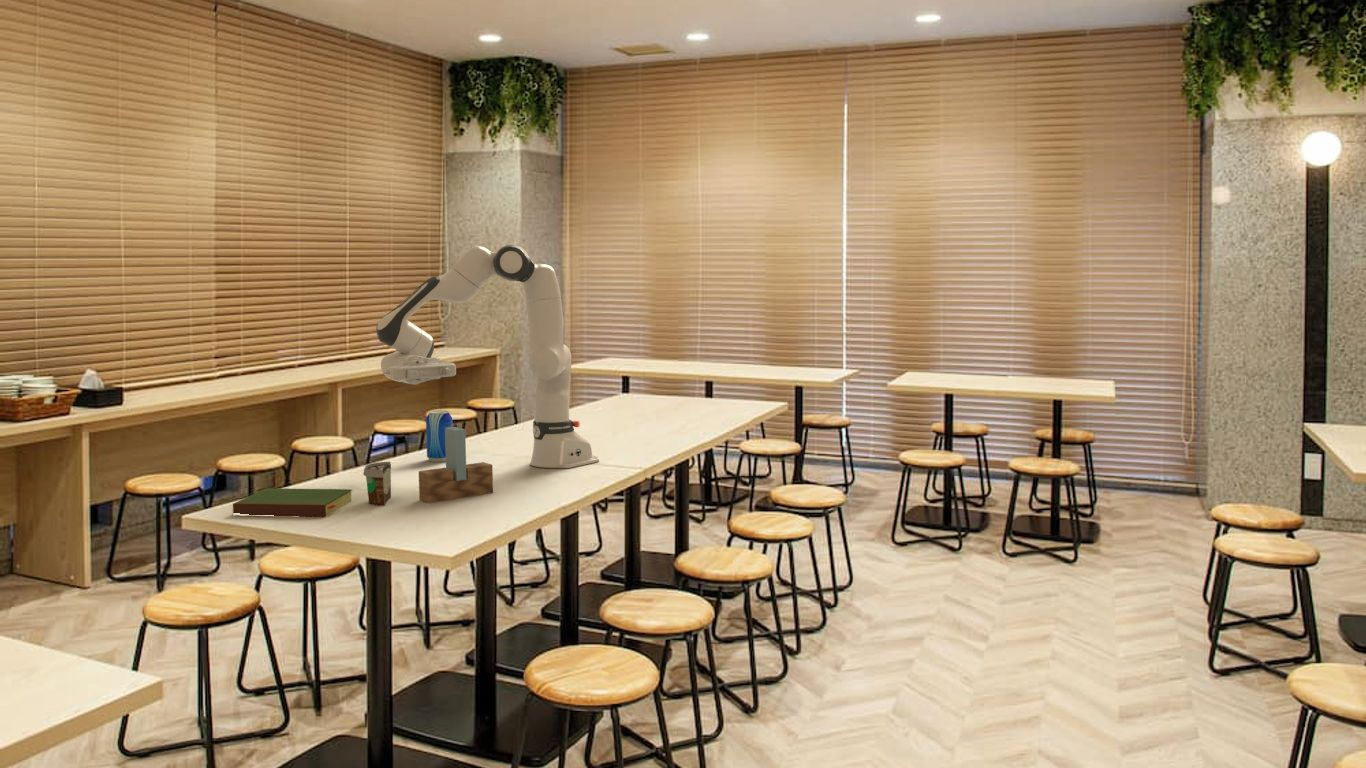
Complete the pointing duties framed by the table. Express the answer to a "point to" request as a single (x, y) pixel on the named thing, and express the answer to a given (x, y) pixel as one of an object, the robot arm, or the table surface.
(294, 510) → the hardcover book
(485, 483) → the notched wooden block
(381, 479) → the food container
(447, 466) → the sage green pillar
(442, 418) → the beer can
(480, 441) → the table surface
